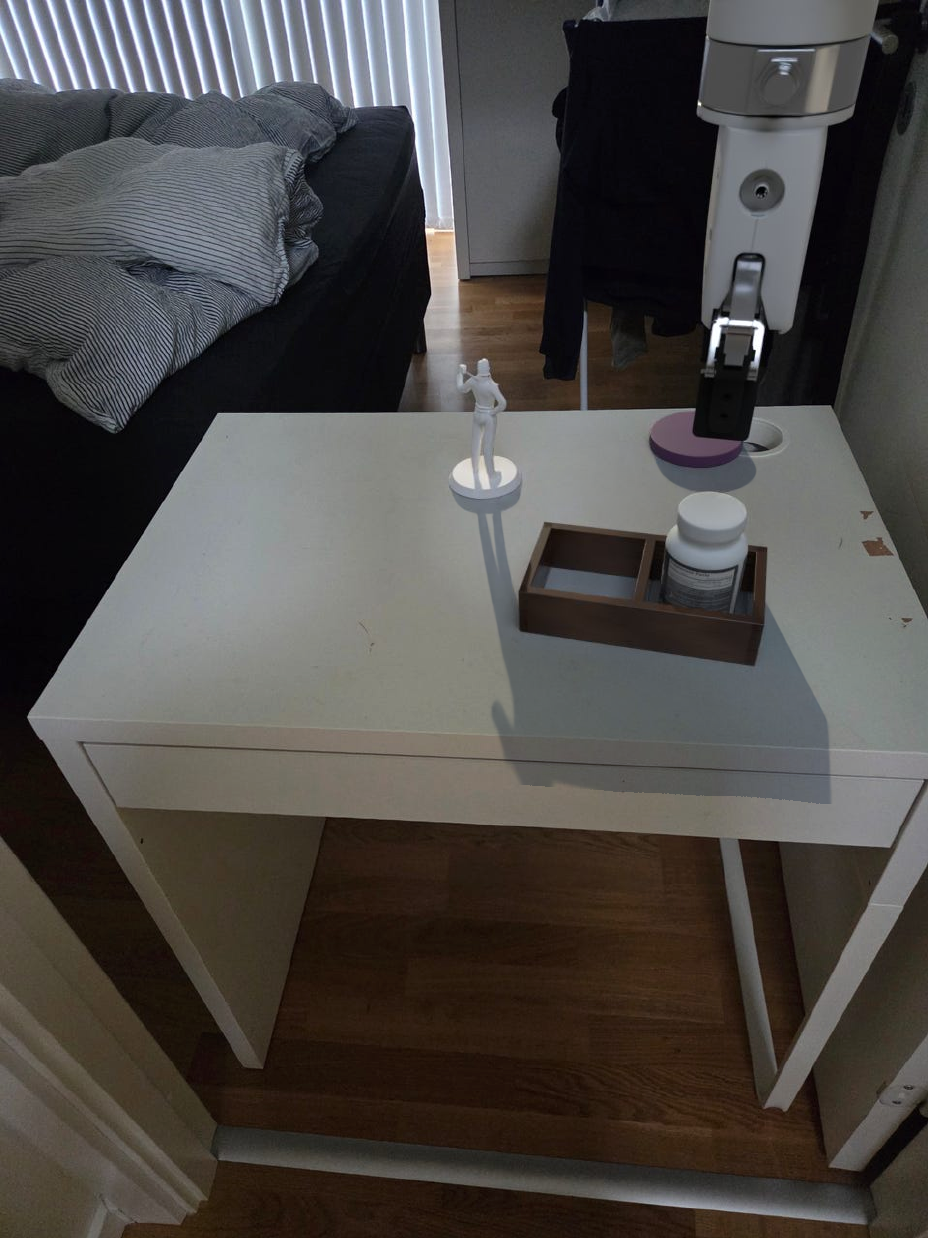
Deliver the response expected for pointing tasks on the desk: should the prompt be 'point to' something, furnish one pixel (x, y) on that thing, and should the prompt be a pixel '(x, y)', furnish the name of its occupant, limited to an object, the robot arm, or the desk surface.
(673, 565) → the pill bottle
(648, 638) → the rack
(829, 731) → the desk surface
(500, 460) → the figurine
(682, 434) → the disc
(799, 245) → the robot arm
